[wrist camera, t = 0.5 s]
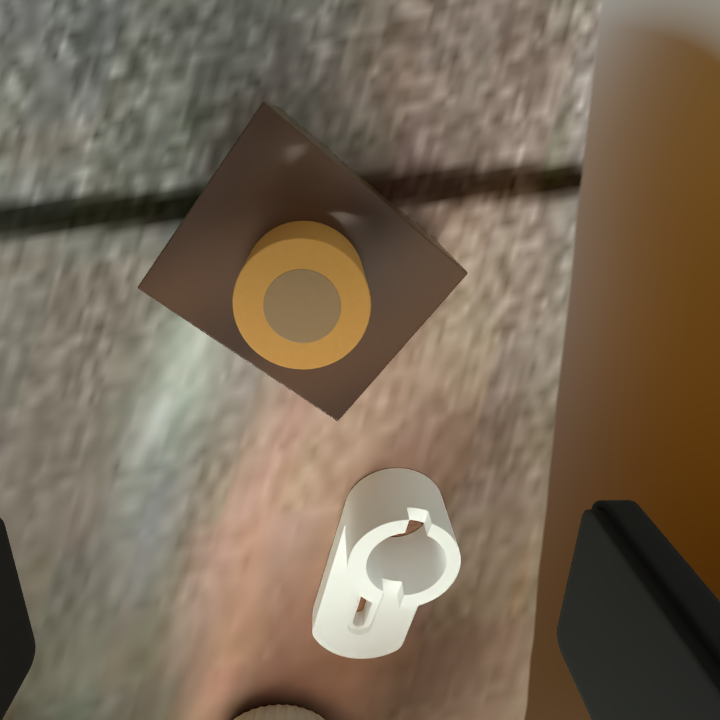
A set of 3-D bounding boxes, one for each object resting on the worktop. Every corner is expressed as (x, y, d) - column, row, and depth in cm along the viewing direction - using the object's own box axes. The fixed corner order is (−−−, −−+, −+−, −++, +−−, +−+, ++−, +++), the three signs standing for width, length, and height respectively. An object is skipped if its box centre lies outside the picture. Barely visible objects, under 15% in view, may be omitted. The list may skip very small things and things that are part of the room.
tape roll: (221, 290, 31) (204, 319, 26) (292, 194, 29) (286, 207, 25) (316, 357, 33) (315, 393, 28) (388, 270, 31) (399, 295, 27)
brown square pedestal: (176, 252, 39) (136, 288, 30) (276, 106, 36) (263, 100, 27) (334, 364, 43) (337, 422, 35) (437, 241, 40) (468, 273, 31)
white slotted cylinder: (358, 459, 46) (364, 511, 40) (456, 478, 48) (476, 530, 42) (306, 631, 54) (304, 696, 48) (392, 642, 55) (401, 707, 49)
